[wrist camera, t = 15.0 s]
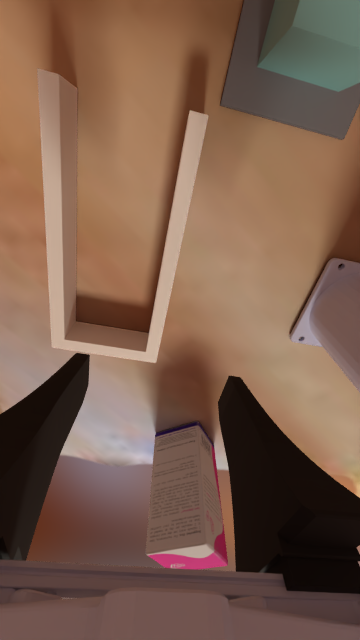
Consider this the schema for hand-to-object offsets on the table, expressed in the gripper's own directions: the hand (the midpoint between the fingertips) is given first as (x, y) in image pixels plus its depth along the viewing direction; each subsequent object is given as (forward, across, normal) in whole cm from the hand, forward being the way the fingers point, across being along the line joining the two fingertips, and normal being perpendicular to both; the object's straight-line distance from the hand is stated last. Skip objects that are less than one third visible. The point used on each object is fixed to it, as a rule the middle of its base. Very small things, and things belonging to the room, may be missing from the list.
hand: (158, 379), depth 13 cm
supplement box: (+10, -6, +19) cm, 22 cm away
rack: (+10, +4, -4) cm, 11 cm away
